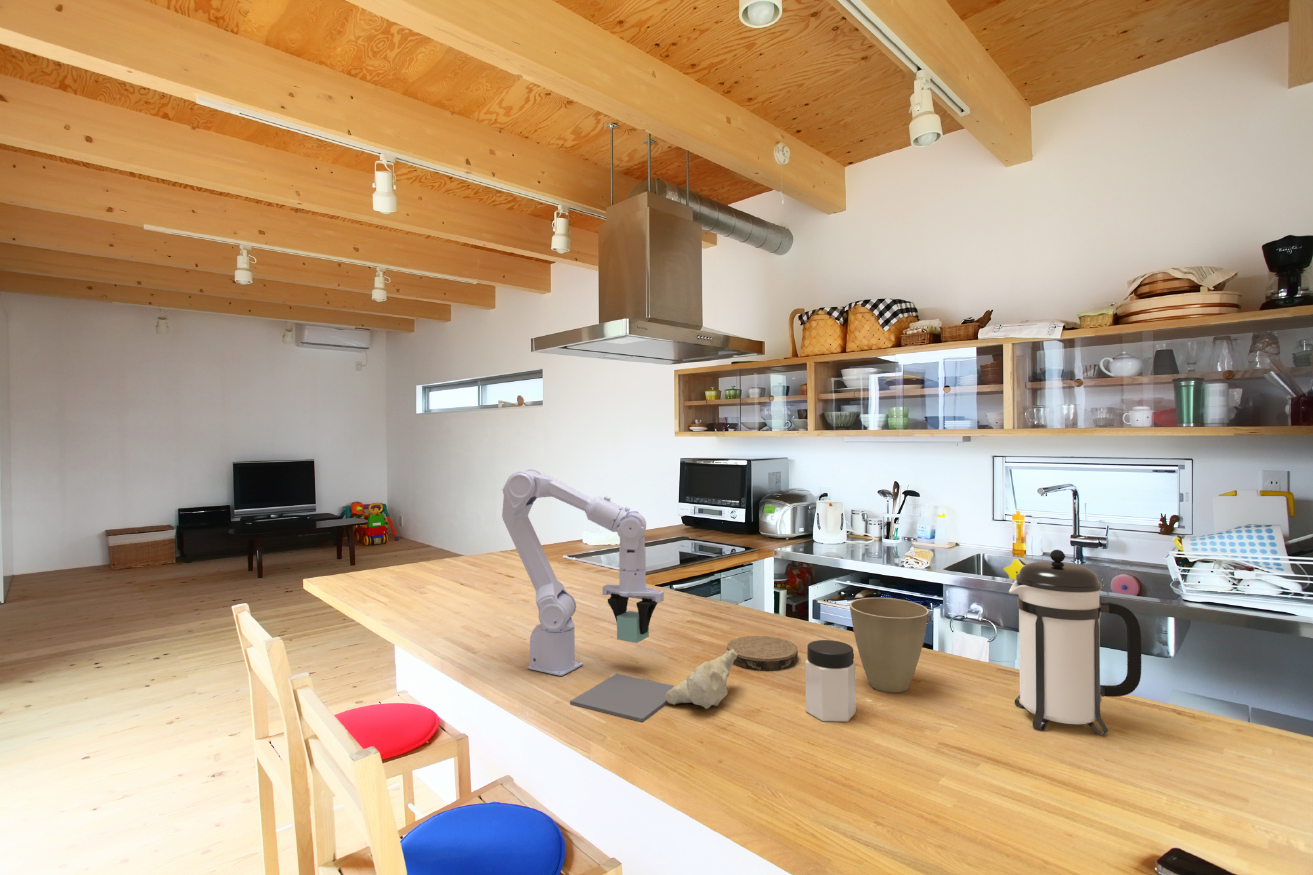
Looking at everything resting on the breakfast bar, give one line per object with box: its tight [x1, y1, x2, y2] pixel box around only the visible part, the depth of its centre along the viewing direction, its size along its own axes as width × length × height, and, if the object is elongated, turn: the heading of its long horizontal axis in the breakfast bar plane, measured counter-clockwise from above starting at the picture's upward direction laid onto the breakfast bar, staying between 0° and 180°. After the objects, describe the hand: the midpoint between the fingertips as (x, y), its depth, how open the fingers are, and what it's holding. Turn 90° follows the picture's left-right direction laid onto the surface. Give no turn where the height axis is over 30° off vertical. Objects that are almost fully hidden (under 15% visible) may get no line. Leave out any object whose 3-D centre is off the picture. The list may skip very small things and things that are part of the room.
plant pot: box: [849, 597, 930, 694], centre depth 129 cm, size 15×15×16 cm
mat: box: [569, 673, 675, 723], centre depth 124 cm, size 16×16×1 cm
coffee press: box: [1008, 549, 1142, 737], centre depth 113 cm, size 17×16×30 cm
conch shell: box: [665, 649, 738, 710], centre depth 122 cm, size 15×7×15 cm
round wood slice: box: [726, 635, 799, 672], centre depth 145 cm, size 16×16×3 cm
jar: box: [804, 639, 857, 723], centre depth 116 cm, size 9×8×12 cm
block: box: [616, 610, 650, 644], centre depth 139 cm, size 5×5×5 cm
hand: (632, 631), depth 139 cm, fingers closed on block, 5 cm apart
